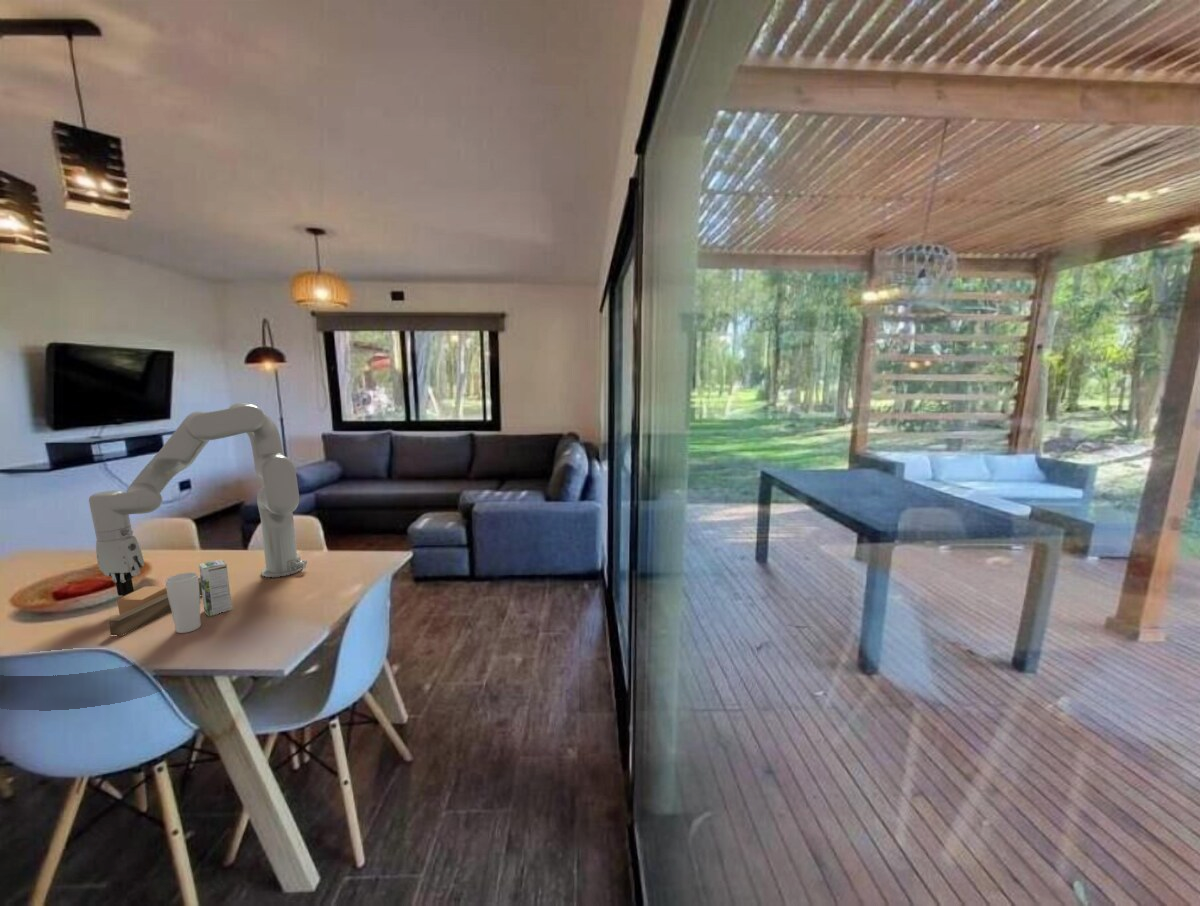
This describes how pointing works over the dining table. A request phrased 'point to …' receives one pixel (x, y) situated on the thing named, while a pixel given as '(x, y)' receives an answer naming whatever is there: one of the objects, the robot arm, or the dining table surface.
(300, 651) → the dining table surface
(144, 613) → the walnut board
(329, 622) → the dining table surface
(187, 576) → the drinking glass
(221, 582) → the syrup box
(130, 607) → the tan block
